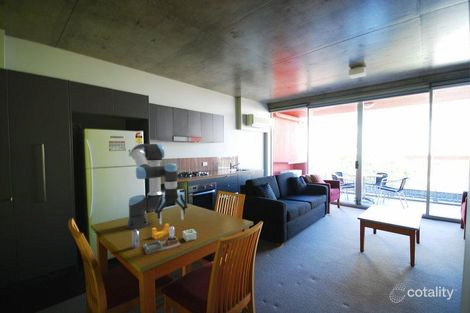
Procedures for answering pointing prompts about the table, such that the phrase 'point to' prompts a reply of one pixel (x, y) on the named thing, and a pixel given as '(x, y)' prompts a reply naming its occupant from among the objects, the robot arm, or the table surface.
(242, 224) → the table surface
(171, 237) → the pin
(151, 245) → the mount
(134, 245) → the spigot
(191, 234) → the tray
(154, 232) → the pipe clamp
